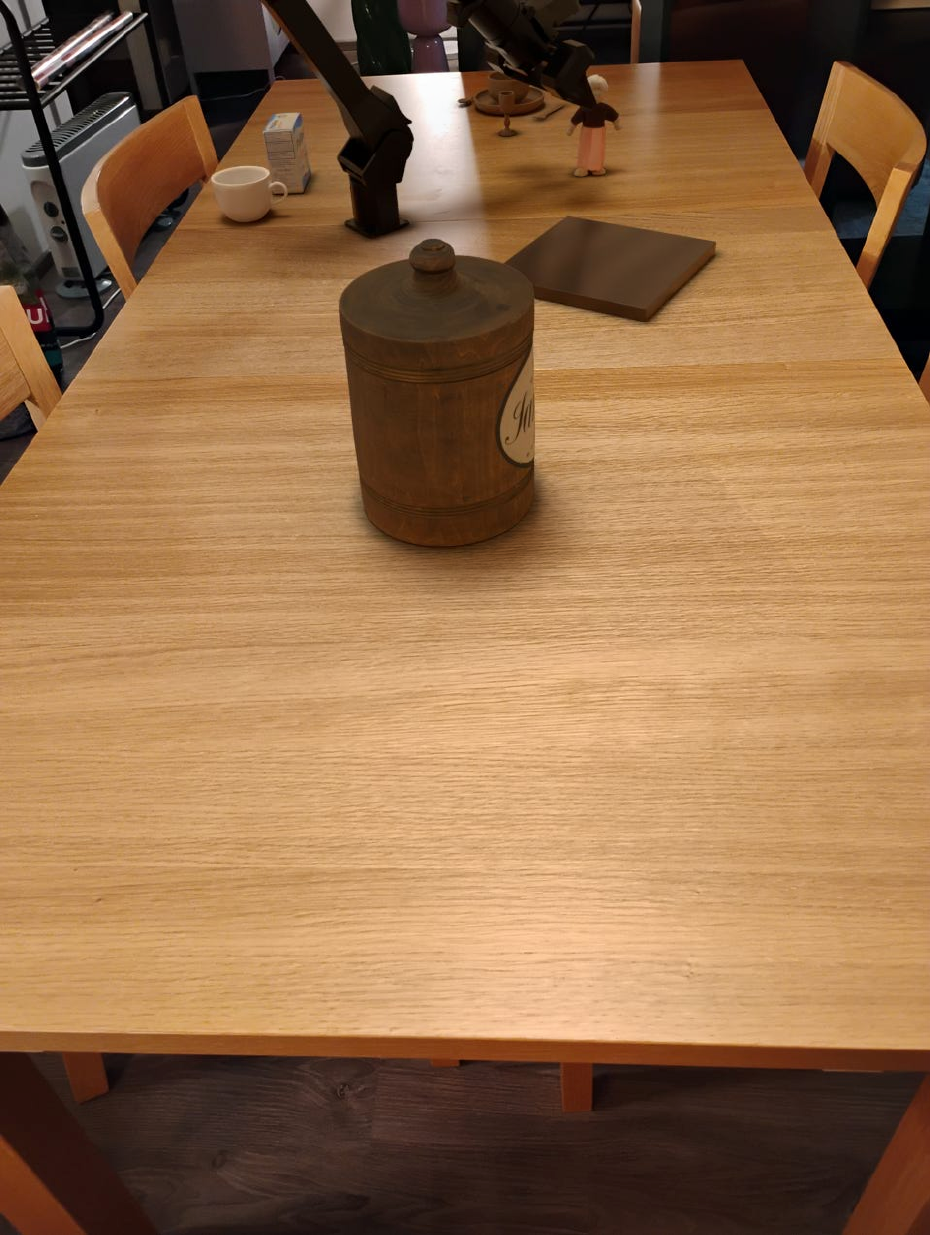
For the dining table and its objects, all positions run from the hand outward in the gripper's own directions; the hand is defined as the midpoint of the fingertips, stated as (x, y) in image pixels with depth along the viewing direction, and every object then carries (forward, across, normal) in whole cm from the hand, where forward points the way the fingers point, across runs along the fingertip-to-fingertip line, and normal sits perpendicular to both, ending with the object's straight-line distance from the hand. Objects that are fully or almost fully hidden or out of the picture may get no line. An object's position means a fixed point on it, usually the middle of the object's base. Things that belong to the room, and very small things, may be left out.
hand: (575, 98), depth 134 cm
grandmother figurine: (+10, 0, +5) cm, 11 cm away
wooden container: (-29, -59, +43) cm, 79 cm away
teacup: (-23, +13, +38) cm, 46 cm away
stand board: (-3, -29, +17) cm, 34 cm away
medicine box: (-17, +22, +32) cm, 42 cm away
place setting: (+12, +33, +3) cm, 35 cm away
